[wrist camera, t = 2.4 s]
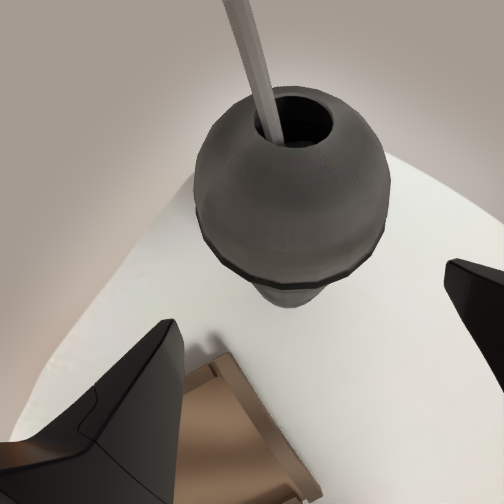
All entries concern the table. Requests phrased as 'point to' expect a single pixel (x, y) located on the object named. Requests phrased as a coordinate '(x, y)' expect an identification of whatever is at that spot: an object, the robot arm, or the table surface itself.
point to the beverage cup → (289, 182)
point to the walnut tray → (234, 445)
